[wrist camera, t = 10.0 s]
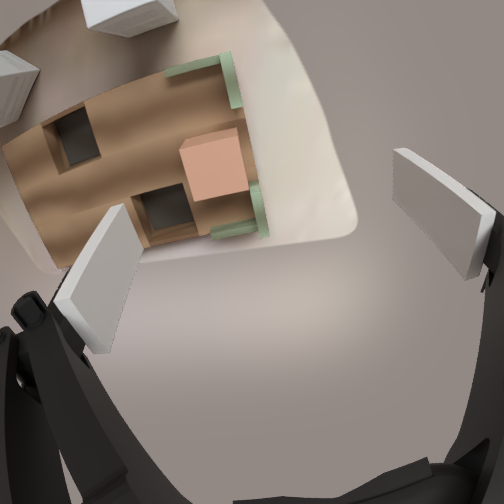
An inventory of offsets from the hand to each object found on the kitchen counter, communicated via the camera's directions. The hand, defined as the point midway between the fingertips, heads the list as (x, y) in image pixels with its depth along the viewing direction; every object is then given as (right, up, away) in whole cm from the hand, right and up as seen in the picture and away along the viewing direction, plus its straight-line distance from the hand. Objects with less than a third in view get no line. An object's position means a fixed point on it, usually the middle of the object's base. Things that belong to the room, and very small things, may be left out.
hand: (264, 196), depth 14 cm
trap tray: (-15, +7, +18) cm, 24 cm away
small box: (-11, +23, +7) cm, 27 cm away
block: (-4, +7, +15) cm, 17 cm away
